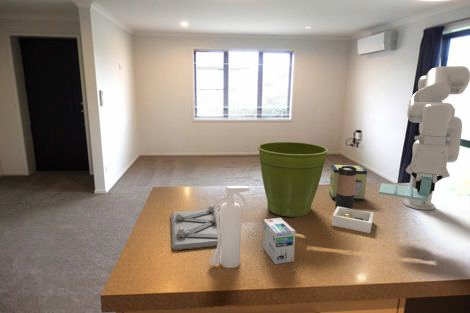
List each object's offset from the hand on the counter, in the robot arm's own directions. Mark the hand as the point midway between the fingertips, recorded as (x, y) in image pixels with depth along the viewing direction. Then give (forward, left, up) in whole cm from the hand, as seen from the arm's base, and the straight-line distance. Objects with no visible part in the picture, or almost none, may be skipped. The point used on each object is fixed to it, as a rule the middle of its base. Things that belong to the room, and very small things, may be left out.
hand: (424, 191), depth 108 cm
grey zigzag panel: (+32, -74, -19) cm, 83 cm away
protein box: (-34, -30, -19) cm, 49 cm away
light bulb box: (+35, -41, -19) cm, 57 cm away
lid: (0, -6, -1) cm, 7 cm away
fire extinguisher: (+47, -53, -19) cm, 73 cm away
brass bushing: (-2, -24, -17) cm, 30 cm away
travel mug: (-14, -28, -19) cm, 36 cm away
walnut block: (+1, -20, -17) cm, 27 cm away
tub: (0, -22, -18) cm, 29 cm away
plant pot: (-4, -50, -19) cm, 54 cm away
